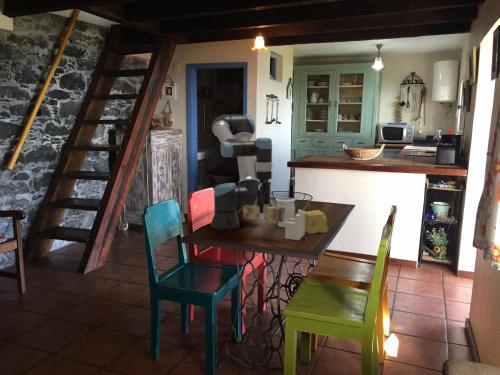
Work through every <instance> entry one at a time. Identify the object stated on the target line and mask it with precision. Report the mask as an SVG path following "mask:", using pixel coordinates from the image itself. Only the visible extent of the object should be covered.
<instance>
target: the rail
mask: <svg viewBox="0 0 500 375" xmlns="http://www.w3.org/2000/svg"><path fill="white" fill-rule="evenodd" d="M242 210H243V211H242V213H243V214H242V216H243V219H247V220H258V221H261V220H260V219H259V206H256V205H245V206H243V207H242ZM284 220H285V207H276V206H270V205H268V206H265V220H264V221H271V222H278V223H279V222H283V221H284Z"/></svg>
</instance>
